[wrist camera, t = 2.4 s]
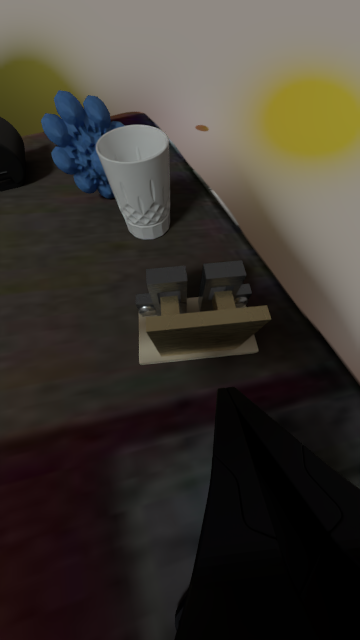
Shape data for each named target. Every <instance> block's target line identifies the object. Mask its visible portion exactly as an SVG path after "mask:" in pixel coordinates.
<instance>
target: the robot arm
mask: <svg viewBox="0 0 360 640" xmlns="http://www.w3.org/2000/svg"><path fill="white" fill-rule="evenodd" d="M179 619H180V620H179ZM175 627H176V630H177V633H176V636H175V640H360V489H359V488H357V487H356V486H354V485H353V484H352V483H350V482H349V481H348V480H346V479H345V478H344V477H343V476H341V475H340V474H339V473H337V472H336V471H335V470H333V469H332V468H331V467H329V466H328V465H327V464H326V463H325V462H323V461H322V460H321V459H320V458H318V457H317V456H316V455H315V454H313V453H312V452H311V451H310V450H309V449H308V448H306V447H305V446H304V445H303V446H302V444H301V443H300V442H299V441H298V440H297V439H296V438H294V437H293V436H292V435H291V434H290V433H288V432H287V431H286V430H285V429H284V428H283V427H281V426H280V425H279V424H278V423H277V422H275V421H274V420H273V419H272V418H271V417H269V416H268V415H267V414H266V413H265V412H264V411H262V410H261V409H260V408H259V407H258V406H256V405H255V404H254V403H253V402H252V401H251V400H249V399H248V398H247V397H246V396H245V395H243V394H242V393H241V392H240V391H239V390H237V389H236V388H235V387H228V388H219V389H217V402H216V416H215V430H214V444H213V457H212V469H211V479H210V486H209V492H208V498H207V504H206V509H205V514H204V519H203V524H202V529H201V534H200V539H199V544H198V549H197V554H196V559H195V564H194V568H193V573H192V577H191V581H190V585H189V589H188V593H187V596H186V598H185V599H184V600H183V601H182V603H181V604H180V605H179V607H178V608H177V610H176V614H175Z"/></svg>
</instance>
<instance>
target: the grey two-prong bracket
mask: <svg viewBox="0 0 360 640" xmlns="http://www.w3.org/2000/svg"><path fill="white" fill-rule="evenodd" d="M146 277H147V287H148V290H149V293H146V294H136V306H137V308H138V309H139V314H140V315H142V317H144V316H154V315H157V316H161V301H160V297H168V296H178V303H179V313H180V314H184V313H186V311H187V275H186V267H185V266H177V267H166V268H155V269H146ZM245 277H246V272H245V269H244V265H243V262H242V260H241V261H231V262H220V263H209V264H203V271H202V277H201V284H200V291H199V298H198V304H199V310H200V312H205V311H214V309H213V304H212V298H213V295H214V292H221V291H231V290H232V294H233V298H234V302H235V306H236V308H237V307H243V306H244V305H246V304H247V303H248V299H249V297H250V296H251V294H252V292H251V288H250V285H249V284H242V283H243V281H244V279H245Z"/></svg>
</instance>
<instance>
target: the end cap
mask: <svg viewBox="0 0 360 640" xmlns="http://www.w3.org/2000/svg"><path fill="white" fill-rule="evenodd" d="M25 176H26V169H25V148H24V143H23V140H22V138H21V136H20V134H19V133H18V132H17V130H16V129H15V128H14V127H13V126H12V125H11V124H10V123H9V122H8V121H6V120H5V119H3V118H1V117H0V191H5V190H9V189H13V188H18V187H21V186H22V185H23V183H24V181H25Z"/></svg>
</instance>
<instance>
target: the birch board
mask: <svg viewBox="0 0 360 640" xmlns="http://www.w3.org/2000/svg"><path fill="white" fill-rule="evenodd" d="M198 298H199V297H194V298H187V311H186V313H195V312H200V310H199V304H198ZM237 308H246V305H244V306H243V307H237ZM154 316H157V315H154ZM154 316H144V317H142V315H140V314H139V364H141V365H144V364H154V363H164V362H174V361H183V360H193V359H203V358H213V357H222V356H232V355H242V354H251V353H256V352H258V351H259V350H258V347H257V343H256V339H255V336H254V335H252V336H251V337H250V338H249V339H248V340H247V341H245V342H244V343H243V344H242V345H241V346H239V347H238V348H237V349H232V350H222V351H212V352H203V353H193V354H183V355H173V356H163V357H161V355H160V354H159V352H158V351H157V349H156V347H155V346H154V344H153V342H152V341H151V339H150V338H149V336H148V334H147V333H146V317H154Z"/></svg>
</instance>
